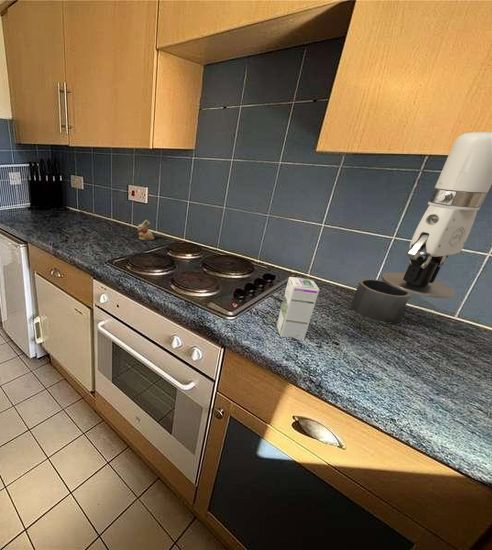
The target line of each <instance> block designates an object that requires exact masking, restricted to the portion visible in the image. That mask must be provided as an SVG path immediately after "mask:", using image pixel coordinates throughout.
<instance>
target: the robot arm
mask: <svg viewBox="0 0 492 550" xmlns="http://www.w3.org/2000/svg"><path fill="white" fill-rule="evenodd" d="M460 135H461V136H460ZM460 135H459V136H458V137H457V138H456V139H455V140H454V142H453V144H452V146H453V147H452V146H451V148H452V149H450V151H451V155H449V154H448V155H447V158H446V160H445V162H444V165H443V167H442V170H441V172H440V174H439V177H438V179H437V182H436V183H435V186H434V188H433V191H432V193H431V194H430V198H429V200H428V201H427V205H428V207H427V209H426V210H425V212H424V214H423V216H422V217H421V219H420V220H419V223H418V225H417V227H416V229H415V231H414V233H413V235H412V237H411V240H410V243H409V246H408V247H409V249H410V250H408V252H407V257H408V258H409V261H408V266H407V268H406V271H405V272H404V273H405V275H404V278H403V280H404V281H407V282H409V283H412V284H415V285H421V283H422V281H423V279H424V276H425V274H426V272H427V270H428V269H427V268H426V267H427V265H428V263H429V262H430V260H434V261H437V262H438V265H437V267H436V269H435V271H434V273H433V275H432V278H431V280H430V282H429V283H433V282H434V280H435V281H436V278H437V276H438V274H439V272H440V271H441V270H440V269H441V268H442V266H443V265H444V263H445V261H446V259H447V258H448V257H449V256H453V255H457V254H459V253H461V252H462V250H463V248H464V246H465V244H466V242H467V240H468V237H469V235H470V233H471V231H472V228H473V225H474V224H475V220H476V216H477V213H478V211H479V210H480V209H481V206H482V205H483V203H484V201H485V199H486V197H487V195H488V193H489V191H490V189H491V187H492V131H474V132H473V131H471V132H466V133H462V134H460ZM423 251H424V252H423ZM425 251H426V252H425ZM423 258H425V259H424V260H423Z"/></svg>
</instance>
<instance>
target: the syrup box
mask: <svg viewBox="0 0 492 550" xmlns="http://www.w3.org/2000/svg"><path fill="white" fill-rule="evenodd" d="M319 293H320V288H319V286H318V285H317V283H316V282H315V281H314V279H310V278H306V277H297V276H289V277H288V280H287V283H286V288H285V291H284V295H283V298H282V302H281V306H280V310H279V314H278V318H277V321H276V329H277V332H278V335H279V337H280V338H284V339H285V338H287V337H288V338H292V339H298V340H305V338H306V335H307V331H308V328H309V325H310V322H311V319H312V315H313V313H314V309H315V307H316V302H317V299H318V296H319Z"/></svg>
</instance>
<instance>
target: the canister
mask: <svg viewBox="0 0 492 550" xmlns="http://www.w3.org/2000/svg"><path fill="white" fill-rule="evenodd" d="M411 295H412V293H409V292H406V291H403V290H400V289H397V288H395V287H392V286H390V285H388V284H387V283H385V282H384V281H383V280H382V279H376V278H375V279H374V278H365V279H360V281H359V282H358V285H357V288H356V290H355V293H354V295H353V297H352V301H351V303H350V306H349V307H350V310H352V311H354V312H356V313H358V314H359V315H361V316H362V317H366V318H368V319H372V320H375V321H379V322H382V323H391V324H397V323H398V322H399V321H400V319H401V316H402V315H403V312H404V310H405V308H406V306H407V304H408V302H409V299H410V297H411Z"/></svg>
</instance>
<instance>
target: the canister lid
mask: <svg viewBox="0 0 492 550" xmlns="http://www.w3.org/2000/svg"><path fill="white" fill-rule="evenodd" d="M424 259H425V257H423V260H424ZM437 265H438V262H437V261H434V260H430V262H429V263H428V265H427V267H426V268H427V269H428V270H427V272H426V274H425V276H424V279H423V281H422V283H421V285H415V284H412V283H409V282H407V281H404V280H403V278H404V275H405V273H406V272H385V273H383V274H382V275H381V277H380V278H381V279H380V280H381V281H384V282H385V283H387V284H388V285H390V286H392V287H395V288H397V289H400V290H403V291H406V292H409V293H411V295H412V294H413V295H417V296H422V297H426V298H427V297H428V298H431V299H432V298H433V299H451V298H454V297H455V296H456V294H457V293H456V291H455V289H454V288H453V287H451V286H449V285H447V284H445V283H442V282H441V281H437V280H436V279H435V280H434V282H433V283H429V282H430V280H431V278H432V275H433V273H434V271H435V269H436V267H437Z"/></svg>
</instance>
